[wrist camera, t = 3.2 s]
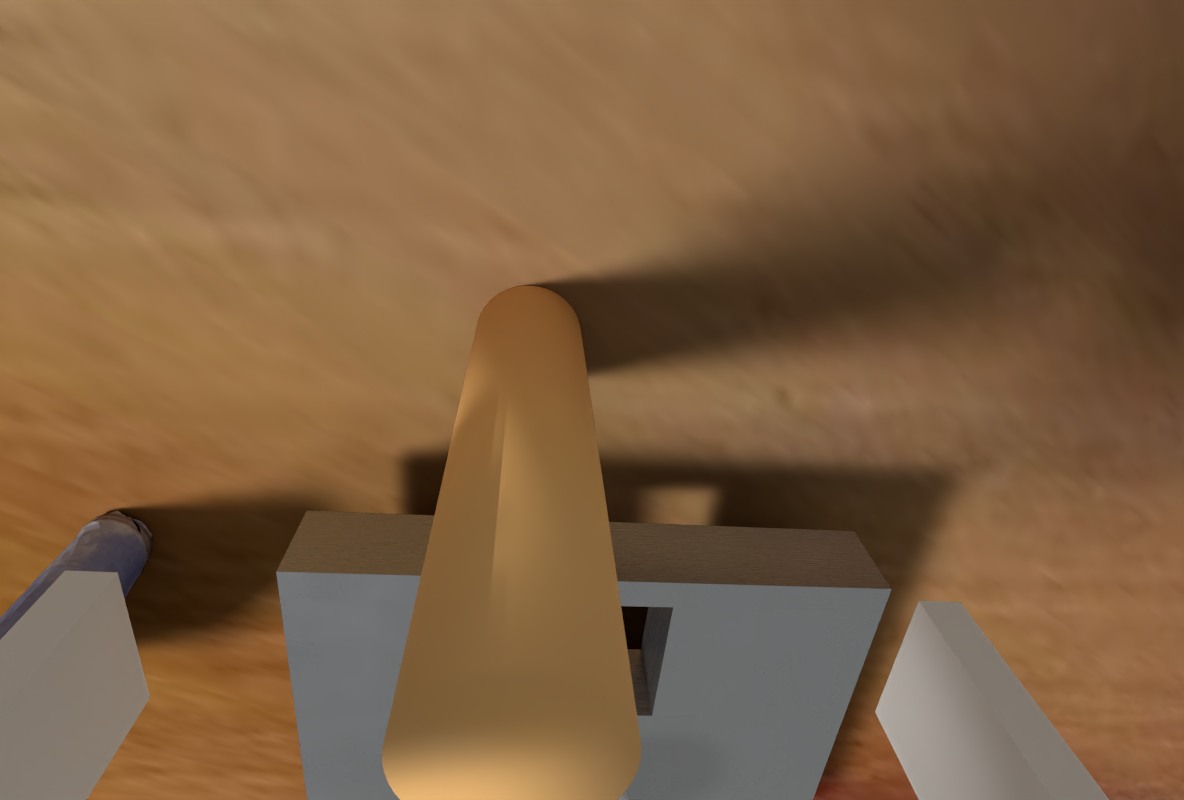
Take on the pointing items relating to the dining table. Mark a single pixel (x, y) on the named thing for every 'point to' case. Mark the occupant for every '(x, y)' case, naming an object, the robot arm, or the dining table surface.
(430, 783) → the light orange cylinder
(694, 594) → the grey plate
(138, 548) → the flask
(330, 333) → the dining table surface
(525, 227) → the dining table surface
